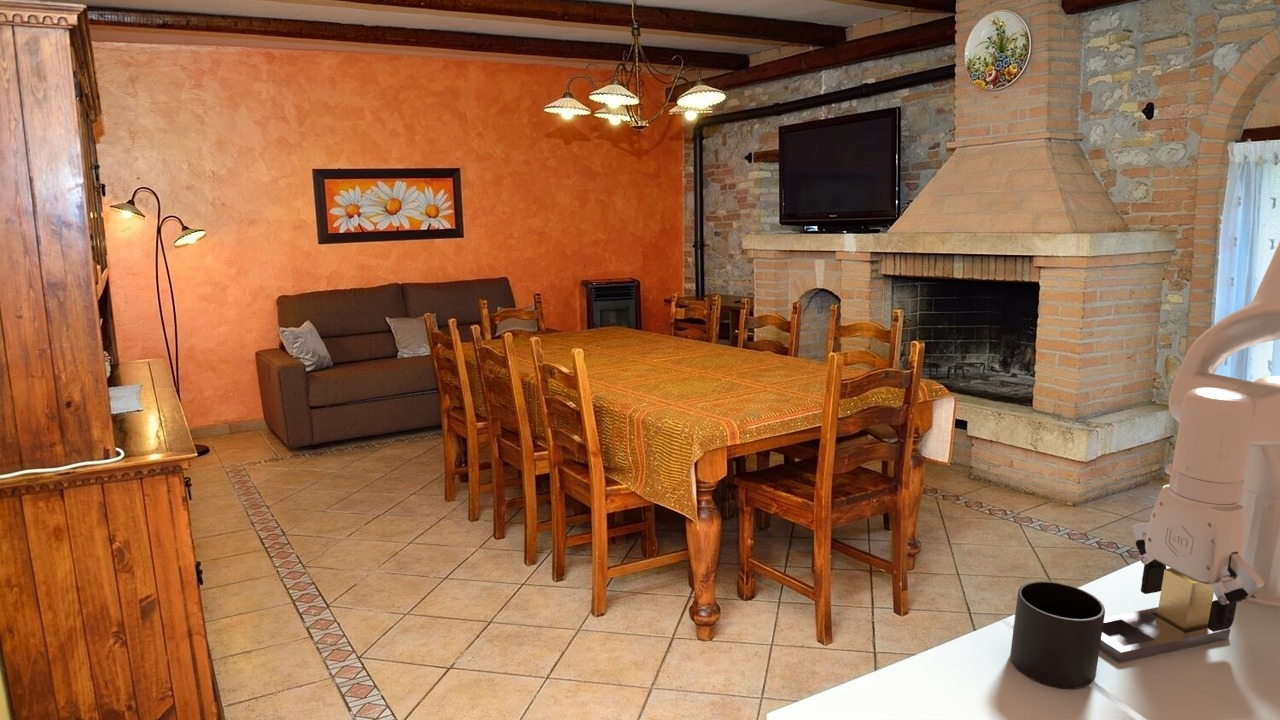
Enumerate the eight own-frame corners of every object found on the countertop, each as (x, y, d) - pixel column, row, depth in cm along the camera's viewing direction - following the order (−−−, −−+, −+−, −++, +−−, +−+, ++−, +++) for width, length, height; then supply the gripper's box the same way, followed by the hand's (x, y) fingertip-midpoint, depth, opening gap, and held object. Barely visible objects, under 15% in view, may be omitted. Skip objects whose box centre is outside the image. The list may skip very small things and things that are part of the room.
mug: (1129, 675, 101) (1140, 607, 99) (1053, 697, 97) (1063, 626, 95) (1065, 635, 110) (1073, 572, 108) (993, 653, 105) (1000, 588, 103)
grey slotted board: (1179, 615, 115) (1181, 602, 114) (1227, 642, 108) (1230, 629, 108) (1074, 637, 109) (1076, 623, 109) (1118, 667, 103) (1121, 652, 102)
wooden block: (1178, 619, 112) (1187, 564, 111) (1206, 635, 109) (1216, 578, 107) (1155, 624, 111) (1164, 569, 109) (1182, 640, 108) (1192, 583, 106)
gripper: (1123, 466, 112) (1106, 582, 116) (1250, 517, 96) (1225, 650, 100) (1166, 460, 115) (1148, 575, 118) (1297, 509, 99) (1271, 640, 102)
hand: (1183, 609), depth 109 cm, fingers open, 9 cm apart
